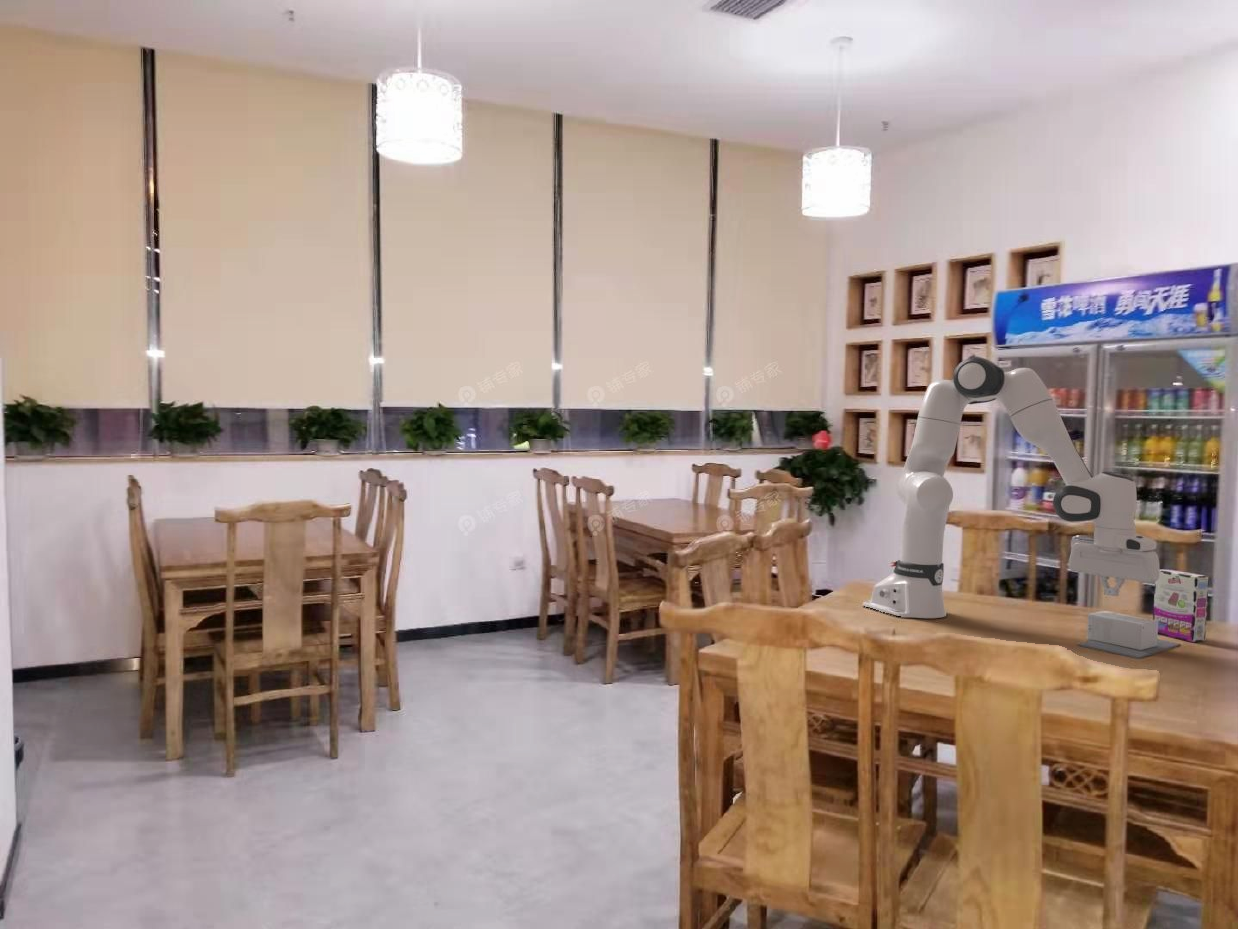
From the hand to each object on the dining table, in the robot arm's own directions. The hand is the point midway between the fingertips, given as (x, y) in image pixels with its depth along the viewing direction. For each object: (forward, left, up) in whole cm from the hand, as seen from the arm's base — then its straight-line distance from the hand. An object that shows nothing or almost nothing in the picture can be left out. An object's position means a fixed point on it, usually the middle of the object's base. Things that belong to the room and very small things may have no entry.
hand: (1111, 595), depth 227 cm
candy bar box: (+8, +20, -12) cm, 24 cm away
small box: (-3, 0, -8) cm, 9 cm away
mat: (+5, 0, -11) cm, 12 cm away
